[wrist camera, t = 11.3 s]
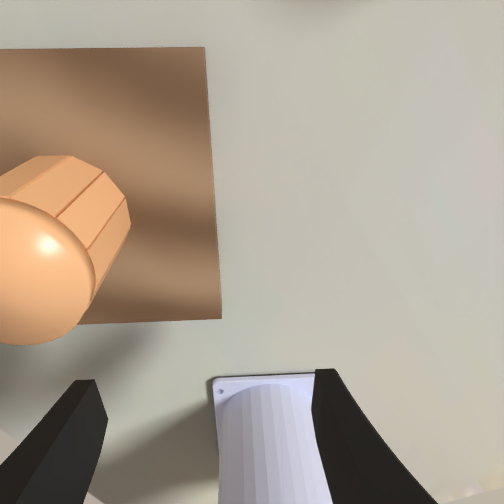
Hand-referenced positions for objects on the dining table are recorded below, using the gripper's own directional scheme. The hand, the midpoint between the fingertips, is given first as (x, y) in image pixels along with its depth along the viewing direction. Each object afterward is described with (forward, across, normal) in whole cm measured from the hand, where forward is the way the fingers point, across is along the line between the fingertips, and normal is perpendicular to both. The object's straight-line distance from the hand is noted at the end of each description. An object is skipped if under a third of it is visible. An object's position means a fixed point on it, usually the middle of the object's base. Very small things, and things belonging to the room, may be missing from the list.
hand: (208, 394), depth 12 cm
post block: (+9, +7, -3) cm, 12 cm away
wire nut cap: (+8, +7, -3) cm, 11 cm away
